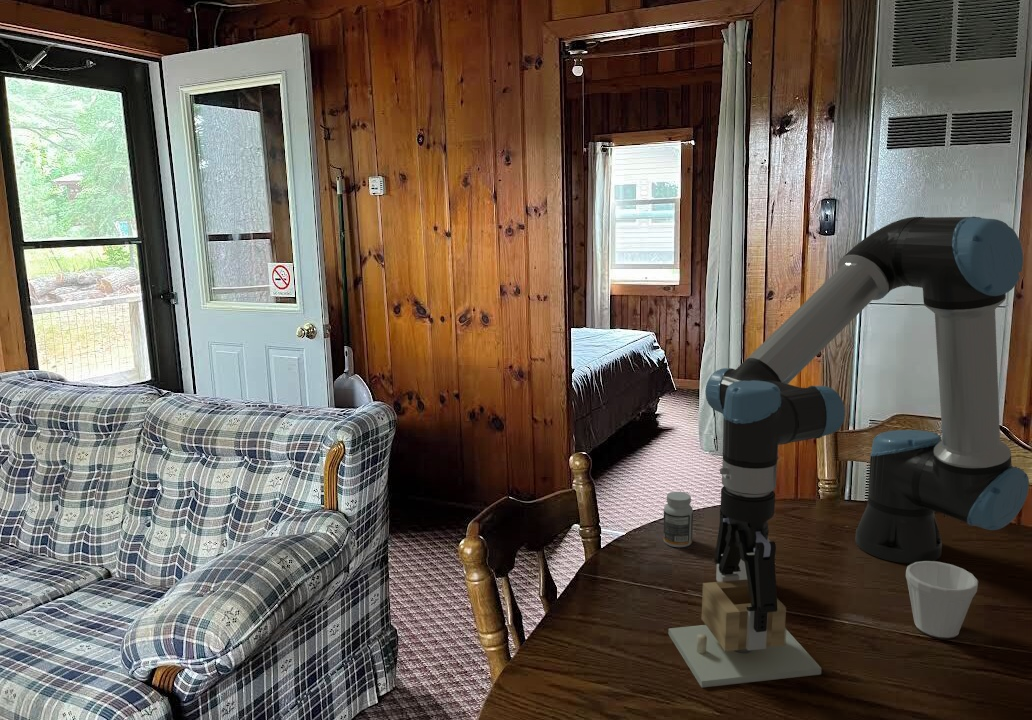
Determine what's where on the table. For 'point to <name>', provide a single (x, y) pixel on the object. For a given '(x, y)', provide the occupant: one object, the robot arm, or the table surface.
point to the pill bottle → (678, 520)
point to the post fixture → (740, 659)
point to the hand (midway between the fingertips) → (741, 630)
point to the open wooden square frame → (736, 615)
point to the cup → (939, 597)
